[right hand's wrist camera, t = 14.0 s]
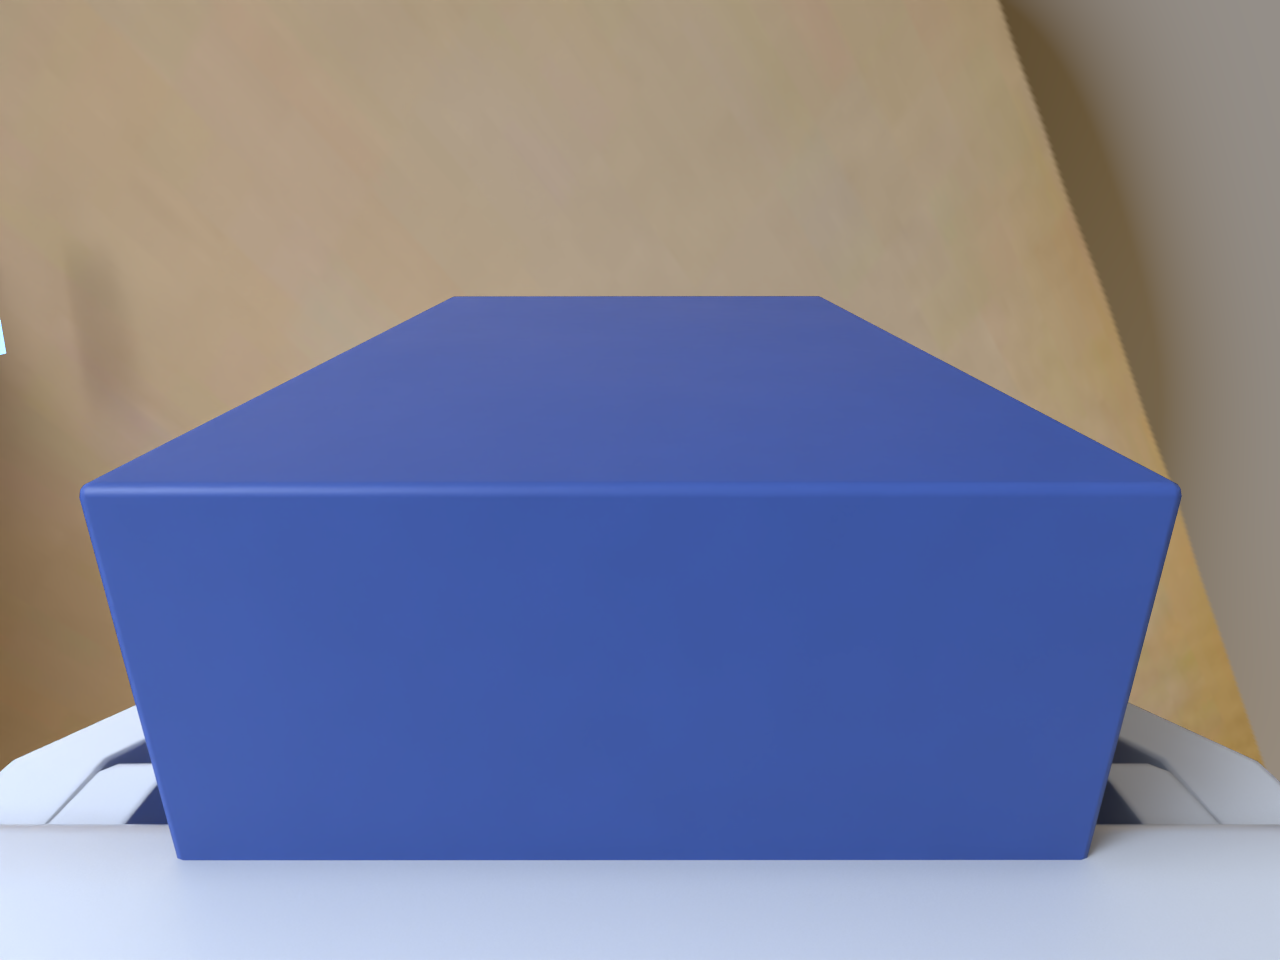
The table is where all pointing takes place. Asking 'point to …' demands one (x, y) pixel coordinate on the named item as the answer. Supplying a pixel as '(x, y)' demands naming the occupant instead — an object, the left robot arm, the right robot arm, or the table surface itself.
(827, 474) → the bar
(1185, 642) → the table surface
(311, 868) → the right robot arm
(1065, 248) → the table surface
